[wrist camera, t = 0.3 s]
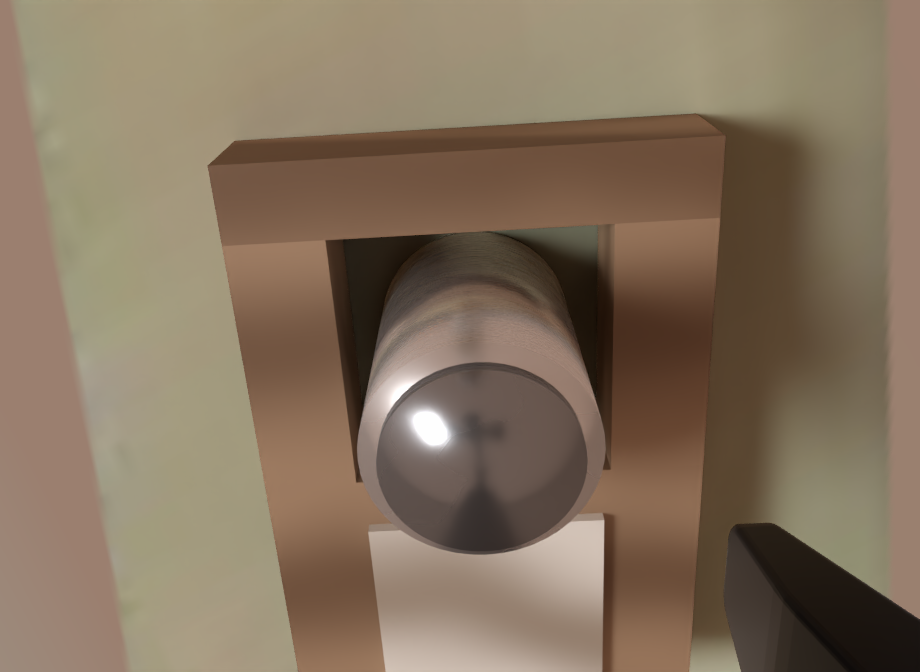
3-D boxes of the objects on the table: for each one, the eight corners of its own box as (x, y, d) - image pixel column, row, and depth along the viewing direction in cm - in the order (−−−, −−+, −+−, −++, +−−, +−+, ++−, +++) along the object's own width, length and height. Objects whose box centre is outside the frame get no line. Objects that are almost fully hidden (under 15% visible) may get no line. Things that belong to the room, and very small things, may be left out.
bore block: (668, 632, 27) (690, 703, 25) (318, 649, 28) (304, 721, 25) (696, 113, 21) (729, 138, 18) (234, 141, 21) (203, 169, 18)
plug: (566, 394, 24) (606, 561, 17) (391, 404, 24) (368, 573, 18) (565, 226, 22) (610, 345, 15) (374, 236, 22) (341, 358, 16)
